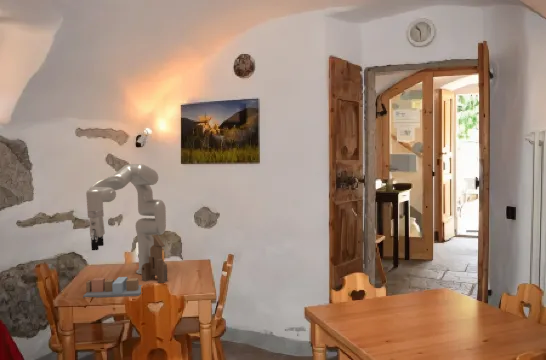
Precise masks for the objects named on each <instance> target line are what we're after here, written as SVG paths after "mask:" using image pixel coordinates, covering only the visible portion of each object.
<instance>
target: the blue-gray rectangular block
mask: <svg viewBox="0 0 546 360" xmlns="http://www.w3.org/2000/svg"><path fill="white" fill-rule="evenodd" d="M128 279H129V278H128V276H118V277H117V278H116V279H114V282H113V283H112V288H113V294H116V293H123V292H124V290H125V289H126V288H127V287H126V281H127V280H128Z"/></svg>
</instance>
